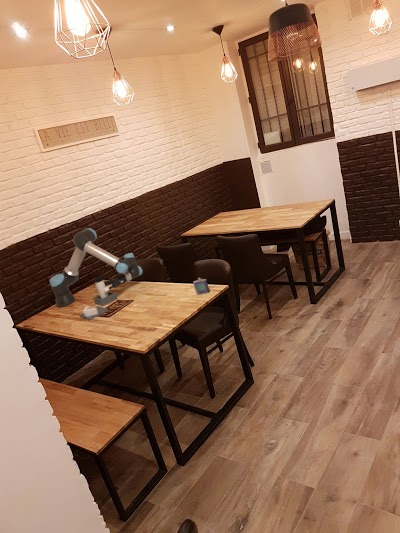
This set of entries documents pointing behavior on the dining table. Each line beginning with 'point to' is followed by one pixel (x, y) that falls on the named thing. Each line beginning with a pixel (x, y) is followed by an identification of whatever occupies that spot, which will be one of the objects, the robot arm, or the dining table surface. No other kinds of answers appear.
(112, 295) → the sleeve
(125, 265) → the robot arm
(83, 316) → the V-cradle
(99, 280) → the travel mug
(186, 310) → the dining table surface
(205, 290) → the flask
